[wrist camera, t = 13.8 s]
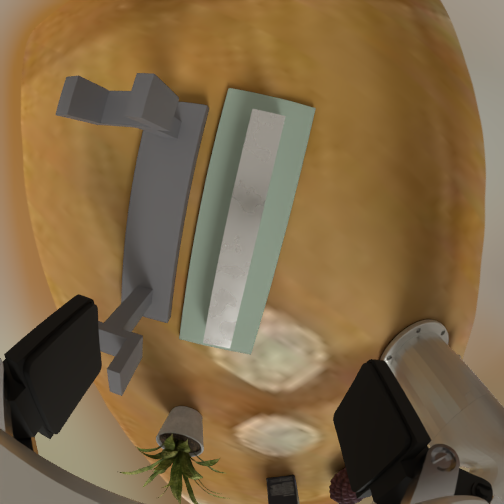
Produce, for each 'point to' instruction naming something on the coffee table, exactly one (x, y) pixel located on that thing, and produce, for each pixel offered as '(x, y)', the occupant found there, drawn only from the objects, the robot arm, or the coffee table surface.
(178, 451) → the house plant
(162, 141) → the grey base with uprights
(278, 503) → the small box
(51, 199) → the coffee table surface
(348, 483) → the pine cone
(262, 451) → the coffee table surface
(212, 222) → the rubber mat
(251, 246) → the steel rail
